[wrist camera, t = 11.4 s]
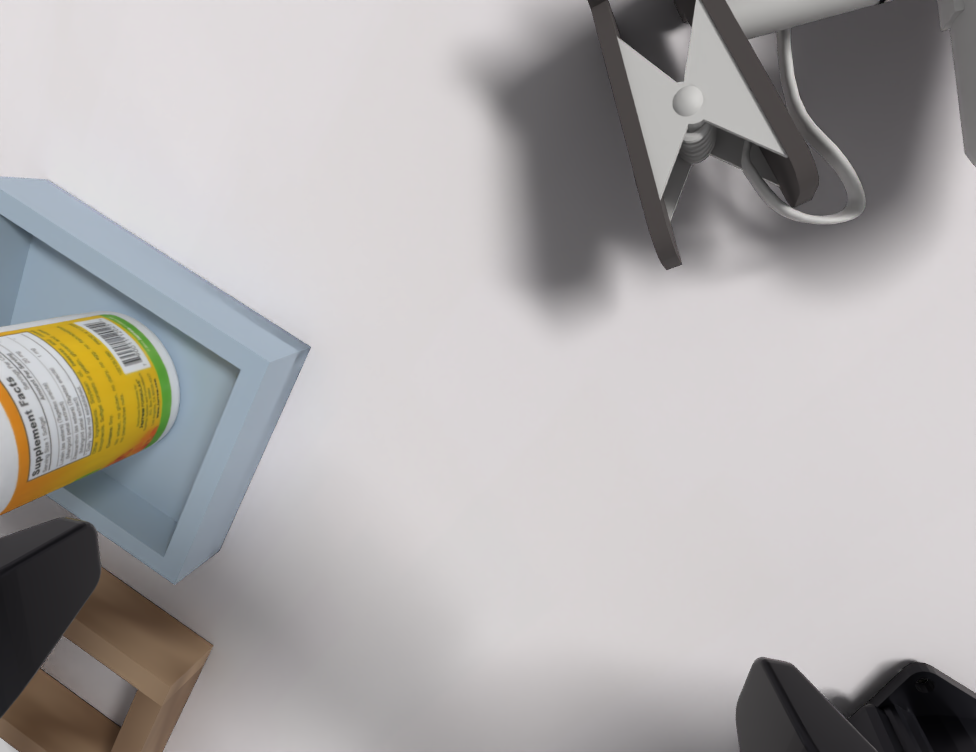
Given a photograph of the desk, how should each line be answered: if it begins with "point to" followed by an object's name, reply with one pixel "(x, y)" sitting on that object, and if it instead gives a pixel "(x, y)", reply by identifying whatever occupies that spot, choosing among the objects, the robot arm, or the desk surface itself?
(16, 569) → the robot arm
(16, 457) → the supplement bottle
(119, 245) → the tray
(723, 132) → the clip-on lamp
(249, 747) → the desk surface
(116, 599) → the frame
